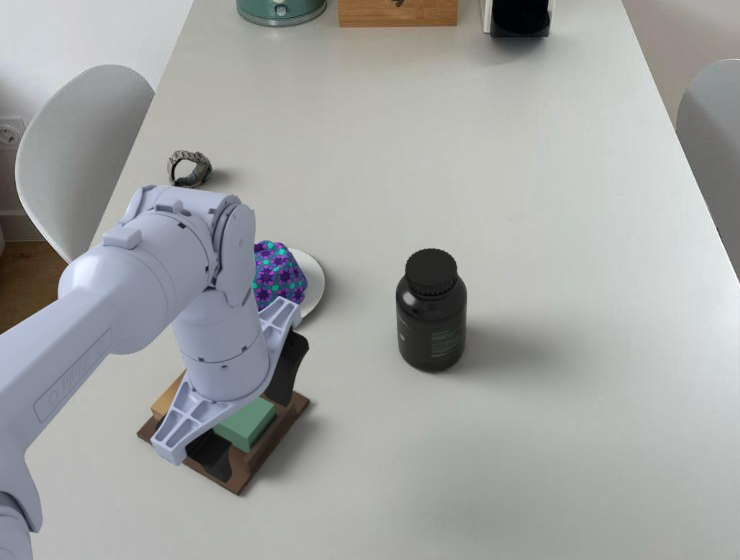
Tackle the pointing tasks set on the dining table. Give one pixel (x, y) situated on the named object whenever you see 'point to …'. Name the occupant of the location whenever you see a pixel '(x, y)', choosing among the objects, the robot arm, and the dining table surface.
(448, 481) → the dining table surface
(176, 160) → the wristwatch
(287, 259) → the pudding
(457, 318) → the supplement bottle
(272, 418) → the green block
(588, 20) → the dining table surface
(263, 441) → the dock
